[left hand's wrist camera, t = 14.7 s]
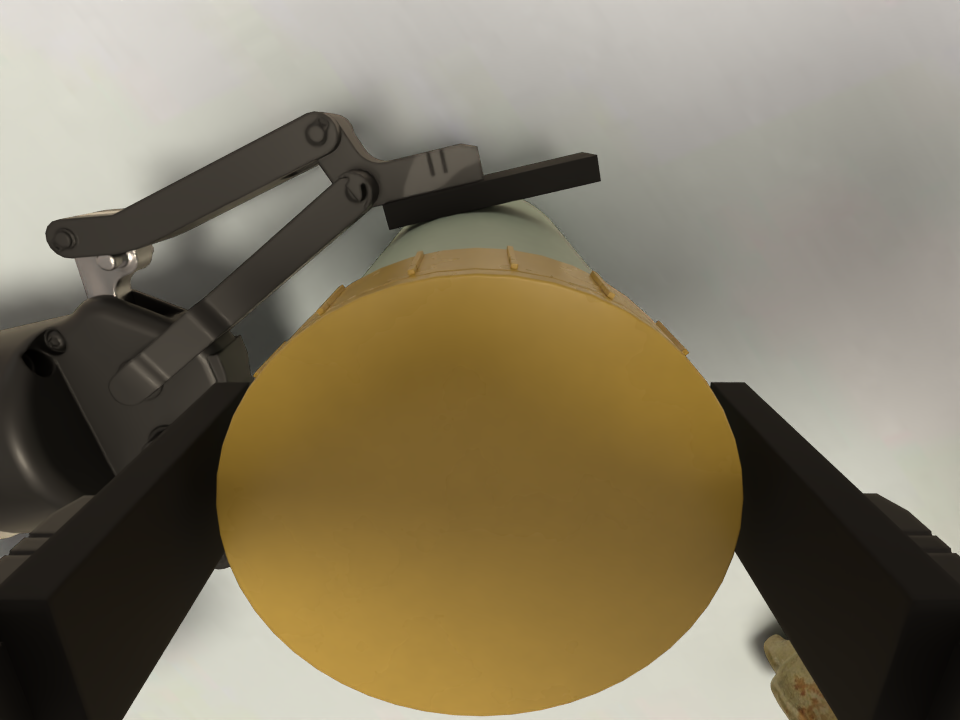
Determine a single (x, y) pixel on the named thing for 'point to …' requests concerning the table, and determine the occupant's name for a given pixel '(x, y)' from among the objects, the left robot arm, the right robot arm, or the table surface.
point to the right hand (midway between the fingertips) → (611, 305)
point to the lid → (479, 485)
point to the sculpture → (794, 683)
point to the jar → (484, 235)
